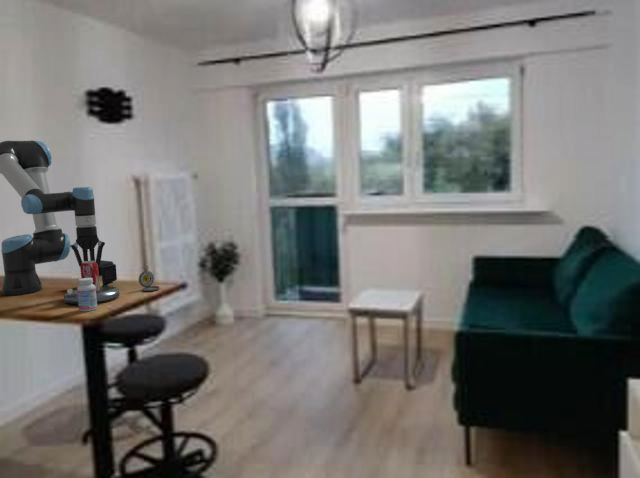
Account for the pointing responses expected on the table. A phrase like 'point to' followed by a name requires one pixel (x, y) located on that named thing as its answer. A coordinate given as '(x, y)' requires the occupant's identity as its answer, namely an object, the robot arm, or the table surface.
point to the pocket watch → (146, 276)
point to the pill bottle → (87, 295)
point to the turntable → (101, 295)
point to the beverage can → (90, 272)
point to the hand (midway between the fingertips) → (91, 284)
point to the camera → (107, 272)
